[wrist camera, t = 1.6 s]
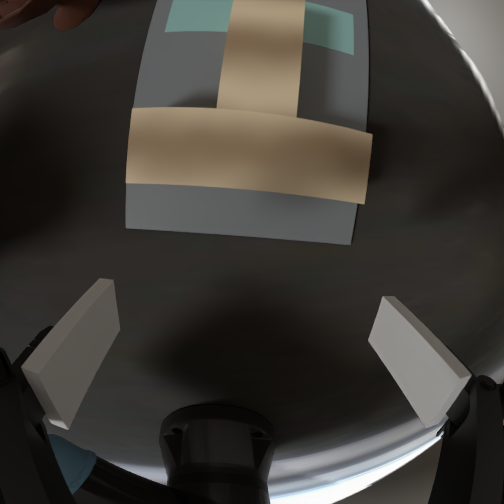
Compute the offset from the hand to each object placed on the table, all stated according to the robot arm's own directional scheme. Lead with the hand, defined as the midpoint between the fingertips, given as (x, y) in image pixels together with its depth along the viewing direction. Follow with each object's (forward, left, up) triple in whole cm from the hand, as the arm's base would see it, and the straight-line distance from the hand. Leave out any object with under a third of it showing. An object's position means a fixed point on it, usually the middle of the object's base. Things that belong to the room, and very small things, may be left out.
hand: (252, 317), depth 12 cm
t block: (+13, 0, -10) cm, 16 cm away
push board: (+18, 0, -11) cm, 21 cm away
